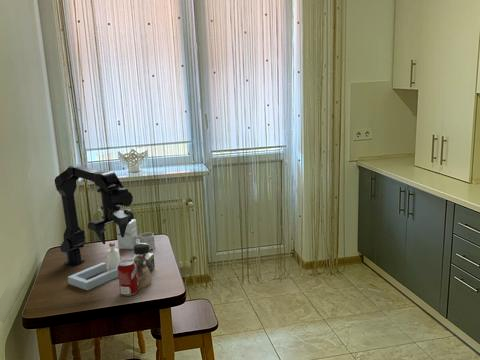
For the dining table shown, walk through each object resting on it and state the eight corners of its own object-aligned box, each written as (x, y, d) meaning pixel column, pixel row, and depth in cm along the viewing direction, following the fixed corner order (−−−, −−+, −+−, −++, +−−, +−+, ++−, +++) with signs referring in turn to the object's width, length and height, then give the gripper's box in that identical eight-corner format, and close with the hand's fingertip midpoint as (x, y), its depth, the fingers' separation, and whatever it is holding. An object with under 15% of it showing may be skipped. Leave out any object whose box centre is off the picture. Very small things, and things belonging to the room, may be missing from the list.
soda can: (129, 298, 174) (126, 267, 171) (116, 294, 177) (112, 264, 175) (142, 290, 179) (139, 260, 177) (129, 287, 183) (126, 257, 180)
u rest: (68, 283, 189) (67, 276, 189) (104, 268, 203) (103, 262, 202) (87, 290, 182) (86, 283, 182) (122, 274, 195) (121, 267, 195)
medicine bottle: (148, 276, 192) (145, 247, 190) (132, 275, 194) (129, 247, 191) (155, 269, 199) (152, 241, 197) (139, 268, 201) (136, 241, 198)
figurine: (131, 282, 187) (128, 253, 185) (149, 278, 190) (146, 249, 188) (135, 289, 181) (131, 259, 178) (153, 285, 184) (150, 255, 181)
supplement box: (118, 249, 226) (115, 223, 223) (124, 243, 233) (121, 218, 230) (132, 249, 224) (130, 223, 222) (138, 244, 231) (136, 218, 229)
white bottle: (106, 271, 199) (103, 244, 197) (116, 267, 203) (112, 241, 201) (114, 274, 196) (110, 246, 194) (123, 270, 200) (120, 242, 198)
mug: (157, 246, 227) (155, 232, 226) (152, 251, 221) (150, 237, 219) (137, 245, 229) (135, 232, 228) (131, 250, 223) (130, 237, 221)
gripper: (102, 212, 180) (107, 251, 183) (141, 200, 194) (144, 237, 197) (84, 208, 186) (89, 246, 190) (123, 197, 201) (126, 232, 204)
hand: (113, 240), depth 195 cm, fingers open, 9 cm apart
